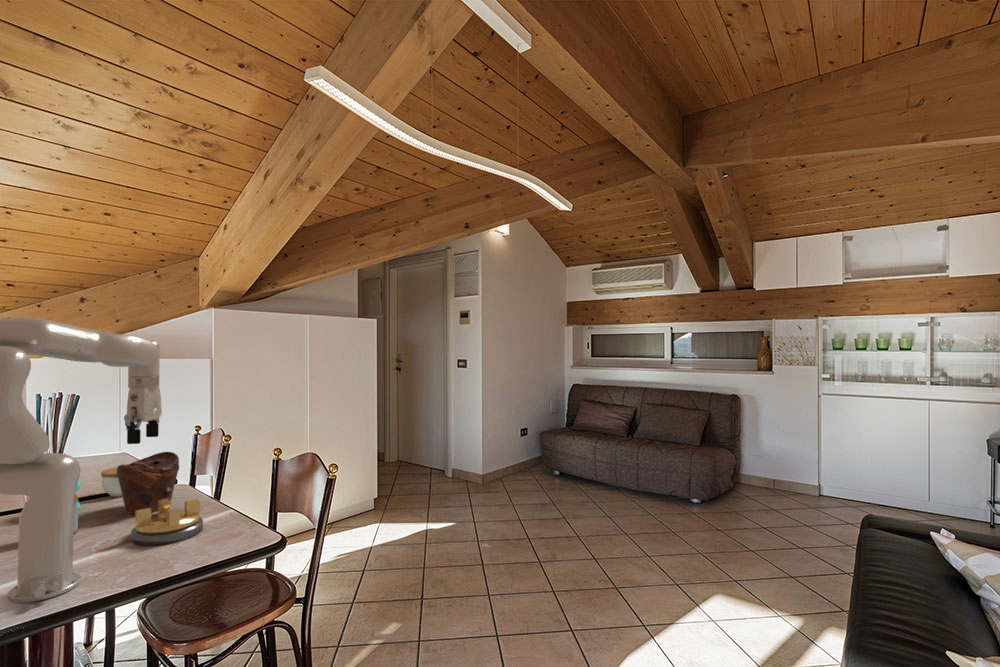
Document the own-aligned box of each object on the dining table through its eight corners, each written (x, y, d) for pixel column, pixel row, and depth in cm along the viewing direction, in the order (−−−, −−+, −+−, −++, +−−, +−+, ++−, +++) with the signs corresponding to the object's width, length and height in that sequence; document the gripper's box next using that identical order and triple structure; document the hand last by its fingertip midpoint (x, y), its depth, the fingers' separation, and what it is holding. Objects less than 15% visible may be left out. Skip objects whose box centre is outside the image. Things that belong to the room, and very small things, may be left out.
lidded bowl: (119, 488, 195) (119, 460, 195) (150, 489, 195) (150, 460, 195) (91, 498, 183) (92, 468, 183) (124, 499, 182) (125, 469, 182)
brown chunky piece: (106, 521, 160) (108, 464, 160) (123, 502, 178) (125, 452, 179) (171, 514, 167) (173, 460, 168) (182, 497, 185) (183, 449, 186)
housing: (209, 534, 150) (210, 514, 150) (136, 551, 137) (137, 529, 137) (194, 518, 163) (194, 500, 163) (126, 533, 150) (126, 513, 150)
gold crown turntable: (205, 525, 150) (205, 505, 150) (140, 539, 139) (141, 518, 139) (191, 512, 161) (192, 493, 161) (131, 524, 150) (131, 504, 150)
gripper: (141, 385, 139) (140, 446, 139) (172, 379, 156) (171, 434, 156) (111, 385, 138) (111, 447, 138) (146, 379, 155) (145, 434, 155)
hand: (143, 440), depth 147 cm, fingers open, 9 cm apart
